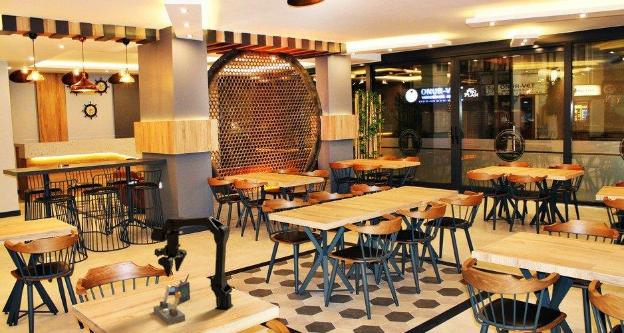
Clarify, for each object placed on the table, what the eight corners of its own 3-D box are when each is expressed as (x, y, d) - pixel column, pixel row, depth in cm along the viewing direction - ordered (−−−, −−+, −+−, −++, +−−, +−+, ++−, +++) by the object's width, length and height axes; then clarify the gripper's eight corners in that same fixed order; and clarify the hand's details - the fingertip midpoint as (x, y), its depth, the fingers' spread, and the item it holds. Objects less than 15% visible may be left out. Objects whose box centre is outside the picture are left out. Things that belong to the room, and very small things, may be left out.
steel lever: (166, 307, 262) (172, 286, 262) (161, 306, 260) (167, 285, 261) (165, 305, 264) (170, 284, 265) (159, 305, 262) (165, 284, 263)
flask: (177, 304, 272) (176, 283, 271) (173, 303, 273) (172, 282, 272) (191, 298, 279) (190, 278, 278) (187, 298, 281) (186, 277, 280)
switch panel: (185, 320, 251) (184, 310, 250) (168, 324, 246) (167, 314, 246) (170, 307, 267) (169, 298, 267) (153, 311, 263) (153, 302, 263)
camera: (170, 288, 299) (169, 274, 298) (190, 286, 300) (189, 273, 299) (166, 295, 286) (165, 281, 286) (187, 294, 287) (186, 280, 286)
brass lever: (176, 315, 251) (182, 293, 252) (171, 314, 249) (177, 292, 250) (174, 313, 253) (180, 291, 254) (169, 312, 251) (175, 291, 252)
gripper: (166, 236, 279) (166, 266, 281) (147, 246, 261) (147, 278, 263) (187, 238, 276) (187, 269, 278) (169, 248, 258) (169, 280, 260)
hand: (172, 274), depth 270 cm, fingers open, 9 cm apart
